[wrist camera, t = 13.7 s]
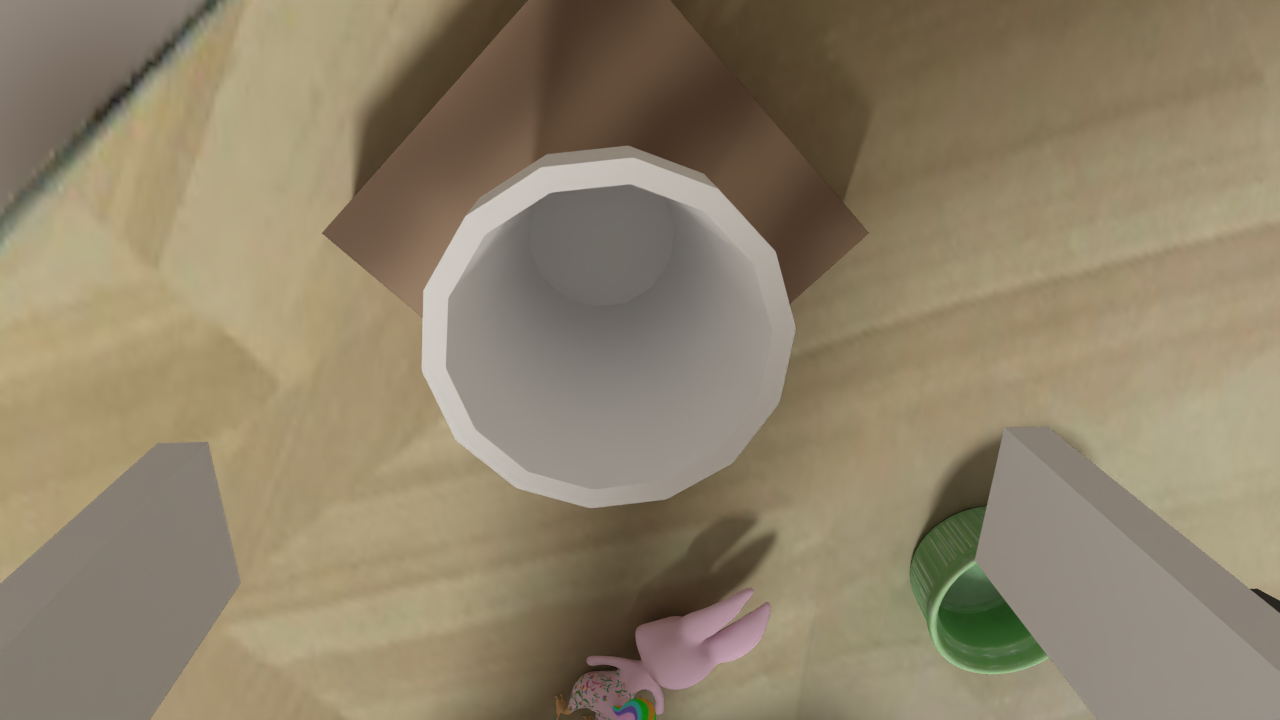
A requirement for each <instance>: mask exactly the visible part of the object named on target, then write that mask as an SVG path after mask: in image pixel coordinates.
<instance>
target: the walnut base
mask: <svg viewBox="0 0 1280 720" xmlns="http://www.w3.org/2000/svg"><path fill="white" fill-rule="evenodd" d="M620 146H631V147H634V148H636V149H639V150H642V151H644V152H647V153H650V154H652V155H655V156H658V157H660V158H663V159H666V160H668V161H671V162H674V163H676V164H679V165H682V166H684V167H687V168H690V169H692V170H695V171H698V172H700V173H703V174H705V175H706V176H707V178H708V179H709V180H710V181H711V182H712V183H713V184H714V185H715V186H716V187H717V188H718V189H719V190H720V191H721V192H722V193H723V195H724V196H725V197H726V198H727V199H728V200H729V201H730V202H731V203H732V204H733V205H734V207H735V208H736V209H737V210H738V211H739V212H740V213H741V214H742V215H743V216H744V217H745V219H746V220H747V221H748V222H749V223H750V224H751V225H752V226H753V227H754V228H755V229H756V231H757V232H758V233H759V234H760V235H761V236H762V237H763V238H764V239H765V240H766V242H767V243H768V244H769V245H770V246H771V247H772V248H773V249H774V250H775V251H776V254H777V258H778V262H779V266H780V270H781V273H782V277H783V281H784V285H785V289H786V292H787V296H788V300H789V304H790V303H791V302H792V301H793V300H794V299H796V298H797V297H798V296H799V295H800V294H801V293H802V292H803V291H804V290H806V289H807V288H808V287H809V286H810V285H811V284H812V283H813V282H815V281H816V280H817V279H818V278H819V277H820V276H821V275H822V274H824V273H825V272H826V271H827V270H828V269H829V268H830V267H831V266H833V265H834V264H835V263H836V262H837V261H838V260H839V259H840V258H842V257H843V256H844V255H845V254H846V253H847V252H848V251H849V250H851V249H852V248H853V247H854V246H855V245H856V244H857V243H858V242H859V241H861V240H862V239H863V238H864V237H865V236H866V235H867V234H868V233H869V232H868V231H867V230H866V229H865V228H864V227H863V225H862V224H861V223H860V222H859V221H858V220H857V218H856V217H855V216H854V215H853V214H852V213H851V211H850V210H849V209H848V208H847V207H846V205H845V204H844V203H843V202H842V201H841V200H840V198H839V197H838V196H837V195H836V194H835V193H834V191H833V190H832V189H831V188H830V187H829V186H828V184H827V183H826V182H825V181H824V180H823V179H822V177H821V176H820V175H819V174H818V173H817V172H816V170H815V169H814V168H813V167H812V166H811V165H810V163H809V162H808V161H807V160H806V159H805V157H804V156H803V155H802V154H801V153H800V152H799V150H798V149H797V148H796V147H795V146H794V145H793V143H792V142H791V141H790V140H789V139H788V138H787V136H786V135H785V134H784V133H783V132H782V131H781V129H780V128H779V127H778V126H777V125H776V124H775V122H774V121H773V120H772V119H771V118H770V117H769V115H768V114H767V113H766V112H765V111H764V109H763V108H762V107H761V106H760V105H759V104H758V102H757V101H756V100H755V99H754V98H753V97H752V95H751V94H750V93H749V92H748V91H747V90H746V88H745V87H744V86H743V85H742V84H741V83H740V81H739V80H738V79H737V78H736V77H735V76H734V74H733V73H732V72H731V71H730V70H729V69H728V67H727V66H726V65H725V64H724V63H723V62H722V60H721V59H720V58H719V57H718V56H717V54H716V53H715V52H714V51H713V50H712V49H711V47H710V46H709V45H708V44H707V43H706V42H705V40H704V39H703V38H702V37H701V36H700V35H699V33H698V32H697V31H696V30H695V29H694V28H693V26H692V25H691V24H690V23H689V22H688V21H687V19H686V18H685V17H684V16H683V15H682V14H681V12H680V11H679V10H678V9H677V8H676V6H675V5H674V4H673V3H672V2H671V1H670V0H528V1H527V2H526V3H525V4H524V5H523V6H522V7H521V9H520V10H519V11H518V12H517V13H516V14H515V15H514V16H513V18H512V19H511V20H510V21H509V22H508V23H507V24H506V26H505V27H504V28H503V29H502V30H501V31H500V32H499V33H498V35H497V36H496V37H495V38H494V39H493V40H492V41H491V42H490V44H489V45H488V46H487V47H486V48H485V49H484V50H483V52H482V53H481V54H480V55H479V56H478V57H477V58H476V59H475V61H474V62H473V63H472V64H471V65H470V66H469V67H468V69H467V70H466V71H465V72H464V73H463V74H462V75H461V76H460V78H459V79H458V80H457V81H456V82H455V83H454V84H453V85H452V87H451V88H450V89H449V90H448V91H447V92H446V93H445V95H444V96H443V97H442V98H441V99H440V100H439V101H438V102H437V104H436V105H435V106H434V107H433V108H432V109H431V110H430V112H429V113H428V114H427V115H426V116H425V117H424V118H423V119H422V121H421V122H420V123H419V124H418V125H417V126H416V127H415V128H414V130H413V131H412V132H411V133H410V134H409V135H408V136H407V138H406V139H405V140H404V141H403V142H402V143H401V144H400V145H399V147H398V148H397V149H396V150H395V151H394V152H393V153H392V155H391V156H390V157H389V158H388V159H387V160H386V161H385V162H384V164H383V165H382V166H381V167H380V168H379V169H378V170H377V171H376V173H375V174H374V175H373V176H372V177H371V178H370V179H369V181H368V182H367V183H366V184H365V185H364V186H363V187H362V188H361V190H360V191H359V192H358V193H357V194H356V195H355V196H354V197H353V199H352V200H351V201H350V202H349V203H348V204H347V205H346V207H345V208H344V209H343V210H342V211H341V212H340V213H339V214H338V216H337V217H336V218H335V219H334V220H333V221H332V222H331V224H330V225H329V226H328V227H327V228H326V229H325V230H324V231H323V233H322V234H324V235H325V236H326V237H327V238H328V239H330V240H331V241H332V242H333V243H334V244H335V245H337V246H338V247H339V248H340V249H341V250H343V251H344V252H345V253H346V254H347V255H349V256H350V257H351V258H352V259H353V260H354V261H356V262H357V263H358V264H359V265H360V266H362V267H363V268H364V269H365V270H366V271H368V272H369V273H370V274H371V275H372V276H374V277H375V278H376V279H377V280H378V281H379V282H381V283H382V284H383V285H384V286H385V287H387V288H388V289H389V290H390V291H391V292H393V293H394V294H395V295H396V296H397V297H398V298H400V299H401V300H402V301H403V302H404V303H406V304H407V305H408V306H409V307H410V308H412V309H413V310H414V311H415V312H416V313H418V314H419V315H420V316H421V317H422V318H423V290H424V288H425V287H426V285H427V283H428V281H429V279H430V278H431V276H432V274H433V272H434V271H435V269H436V267H437V265H438V264H439V262H440V260H441V258H442V257H443V255H444V253H445V251H446V249H447V248H448V246H449V244H450V242H451V241H452V239H453V237H454V235H455V234H456V232H457V230H458V228H459V226H460V225H461V223H462V221H463V219H464V218H465V216H466V215H467V213H468V212H469V211H470V209H471V208H472V207H473V205H474V204H475V203H476V201H477V200H478V199H479V198H480V197H481V196H483V195H484V194H486V193H488V192H489V191H491V190H492V189H494V188H495V187H497V186H498V185H500V184H501V183H503V182H505V181H506V180H508V179H509V178H511V177H512V176H514V175H515V174H517V173H519V172H520V171H522V170H523V169H525V168H526V167H528V166H529V165H531V164H532V163H534V162H536V161H537V160H539V159H540V158H542V157H543V156H545V155H546V154H554V153H563V152H573V151H582V150H591V149H601V148H610V147H620Z"/></svg>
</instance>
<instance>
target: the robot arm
mask: <svg viewBox="0 0 1280 720" xmlns="http://www.w3.org/2000/svg"><path fill="white" fill-rule="evenodd" d="M975 562H976V563H977V564H978V566H979V567H980V568H981V570H982V571H983V572H984V574H985V575H986V576H987V577H988V579H989V580H990V581H991V583H992V584H993V585H994V587H995V588H996V589H997V590H998V592H999V593H1000V594H1001V596H1002V597H1003V598H1004V600H1005V601H1006V602H1007V603H1008V605H1009V606H1010V607H1011V609H1012V610H1013V611H1014V613H1015V614H1016V615H1017V616H1018V618H1019V619H1020V620H1021V622H1022V623H1023V624H1024V626H1025V627H1026V628H1027V629H1028V631H1029V632H1030V633H1031V635H1032V636H1033V637H1034V639H1035V640H1036V641H1037V642H1038V644H1039V645H1040V646H1041V648H1042V649H1043V650H1044V652H1045V653H1046V654H1047V655H1048V657H1049V658H1050V659H1051V661H1052V662H1053V663H1054V665H1055V666H1056V667H1057V668H1058V670H1059V671H1060V672H1061V674H1062V675H1063V676H1064V678H1065V679H1066V680H1067V681H1068V683H1069V684H1070V685H1071V687H1072V688H1073V689H1074V691H1075V692H1076V693H1077V694H1078V696H1079V697H1080V698H1081V700H1082V701H1083V702H1084V704H1085V705H1086V706H1087V707H1088V709H1089V710H1090V711H1091V713H1092V714H1093V715H1094V717H1095V718H1096V719H1097V720H1280V601H1279V600H1277V599H1275V598H1273V597H1272V596H1270V595H1268V594H1266V593H1264V592H1262V591H1260V590H1259V589H1249V588H1248V587H1247V586H1245V585H1244V584H1243V583H1242V582H1240V581H1239V580H1238V579H1237V578H1235V577H1234V576H1233V575H1232V574H1230V573H1229V572H1228V571H1227V570H1225V569H1224V568H1223V567H1222V566H1220V565H1219V564H1218V563H1217V562H1215V561H1214V560H1213V559H1212V558H1210V557H1209V556H1208V555H1207V554H1205V553H1204V552H1203V551H1202V550H1200V549H1199V548H1198V547H1197V546H1195V545H1194V544H1193V543H1192V542H1190V541H1189V540H1188V539H1187V538H1186V537H1184V536H1183V535H1182V534H1181V533H1179V532H1178V531H1177V530H1176V529H1174V528H1173V527H1172V526H1171V525H1169V524H1168V523H1167V522H1166V521H1164V520H1163V519H1162V518H1161V517H1159V516H1158V515H1157V514H1156V513H1154V512H1153V511H1152V510H1151V509H1149V508H1148V507H1147V506H1146V505H1144V504H1143V503H1142V502H1141V501H1139V500H1138V499H1137V498H1136V497H1134V496H1133V495H1132V494H1131V493H1129V492H1128V491H1127V490H1126V489H1124V488H1123V487H1122V486H1121V485H1119V484H1118V483H1117V482H1116V481H1114V480H1113V479H1112V478H1111V477H1109V476H1108V475H1107V474H1106V473H1104V472H1103V471H1102V470H1101V469H1100V468H1098V467H1097V466H1096V465H1095V464H1093V463H1092V462H1091V461H1090V460H1088V459H1087V458H1086V457H1085V456H1083V455H1082V454H1081V453H1080V452H1078V451H1077V450H1076V449H1075V448H1073V447H1072V446H1071V445H1070V444H1068V443H1067V442H1066V441H1065V440H1063V439H1062V438H1061V437H1060V436H1058V435H1057V434H1056V433H1055V432H1053V431H1052V430H1051V429H1050V428H1048V427H1010V428H1004V432H1003V436H1002V441H1001V445H1000V450H999V454H998V458H997V463H996V467H995V472H994V476H993V481H992V485H991V490H990V494H989V499H988V503H987V508H986V512H985V516H984V521H983V525H982V530H981V534H980V539H979V543H978V548H977V552H976V557H975ZM240 583H241V581H240V577H239V573H238V568H237V564H236V560H235V556H234V551H233V547H232V543H231V539H230V534H229V530H228V526H227V521H226V517H225V513H224V509H223V504H222V500H221V496H220V492H219V487H218V483H217V479H216V475H215V470H214V466H213V462H212V457H211V453H210V449H209V445H208V442H187V443H157V444H156V445H155V446H154V447H153V448H152V449H151V450H150V451H148V452H147V453H146V454H145V455H144V456H143V457H142V458H141V459H139V460H138V461H137V462H136V463H135V464H134V465H133V466H132V467H130V468H129V469H128V470H127V471H126V472H125V473H124V474H123V475H122V476H120V477H119V478H118V479H117V480H116V481H115V482H114V483H113V484H111V485H110V486H109V487H108V488H107V489H106V490H105V491H104V492H102V493H101V494H100V495H99V496H98V497H97V498H96V499H95V500H94V501H92V502H91V503H90V504H89V505H88V506H87V507H86V508H85V509H83V510H82V511H81V512H80V513H79V514H78V515H77V516H76V517H75V518H73V519H72V520H71V521H70V522H69V523H68V524H67V525H66V526H64V527H63V528H62V529H61V530H60V531H59V532H58V533H57V534H55V535H54V536H53V537H52V538H51V539H50V540H49V541H48V542H47V543H45V544H44V545H43V546H42V547H41V548H40V549H39V550H38V551H36V552H35V553H34V554H33V555H32V556H31V557H30V558H29V559H28V560H26V561H25V562H24V563H23V564H22V565H21V566H20V567H19V568H17V569H16V570H15V571H14V572H13V573H12V574H11V575H10V576H8V577H7V578H6V579H5V580H4V581H3V582H2V583H1V584H0V720H150V719H151V718H152V716H153V715H154V713H155V712H156V710H157V709H158V707H159V706H160V704H161V703H162V701H163V700H164V698H165V697H166V695H167V694H168V692H169V691H170V689H171V687H172V686H173V684H174V683H175V681H176V680H177V678H178V677H179V675H180V674H181V672H182V671H183V669H184V668H185V666H186V665H187V663H188V662H189V660H190V659H191V657H192V656H193V654H194V653H195V651H196V650H197V648H198V647H199V645H200V644H201V642H202V641H203V639H204V638H205V636H206V635H207V633H208V632H209V630H210V629H211V627H212V626H213V624H214V623H215V621H216V620H217V618H218V617H219V615H220V614H221V612H222V611H223V609H224V608H225V606H226V604H227V603H228V601H229V600H230V598H231V597H232V595H233V594H234V592H235V591H236V589H237V588H238V586H239V585H240Z"/></svg>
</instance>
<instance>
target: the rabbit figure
mask: <svg viewBox="0 0 1280 720" xmlns="http://www.w3.org/2000/svg"><path fill="white" fill-rule="evenodd" d="M753 592H754V590H753V589H752V588H747V589H744V590H742V591H739V592H738V593H736V594H734V595H732V596H730V597H728V598H726V599H724V600H722V601H720V602H718V603H716V604H713V605H711V606H709V607H707V608H704V609H701V610H698V611H695V612H692V613H689V614H687V615H685V616H684V617H680V616H672V617H667V618H664V619H660V620H657V621H653V622H649V623H645V624H642V625H640V626H638V628H637V629H636V633H635V637H636V645H637V648H638V651H639V654H640V657H641V659H642V660H632V659H627V658H622V657H614V656H589V657H588V658H587V663H588V665H590V666H595V665H611V666H615V667H618V668H619V669H617V670H615V671H609V670H608V671H592V672H588V673H585V674H584V675H582V676H581V677H580V678H579V679H578V680H577V681H576V683H575V685H574V687H573V690H572V694H571V697H570V701H569V704H568V707H567V708H566V709H564V707H565V705H566V703H564V702H563V696H562V694H560V696H561V699H560V700H558V696H555V698H556V699H557V700H556V708H557V710H556V713H557V715H558V717H557V719H556V720H559V717H560V714H561V713H562V714H566V715H570V714H571V713H572V712H573V711H575V710H577V709H583V708H588V709H590V710H592V711H593V712H595V714H596V720H656V714H659V715H660V714H662V713H663V711H664V696H663V692H662V689H661V686H662V687H665V688H668V689H674V690H679V689H685V688H688V687H690V686H693V685H695V684H696V683H698V682H700V681H701V680H703V679H704V678H705V677H706V676H707V675H708V674H709V673H710V672H711V671H712V669H713V668H714V667H715V666H716V665H717V664H719V663H722V662H729V661H733V660H736V659H738V658H740V657H742V656H744V655H745V654H746V653H748V652H749V651H750V650H751V649H753V648H754V647H755V646H756V645H757V644H758V642H759V641H760V640H761V638H762V636H763V634H764V632H765V629H766V627H767V623H768V620H769V616H770V611H771V605H770V603H769V602H766V603H764V604H763V605H761V606H760V607H758V608H757V609H755V610H754V611H752V612H750V613H748V614H747V615H745V616H744V617H742V618H741V619H739V620H738V621H736V622H734V623H732V624H730V625H728V626H727V627H725V628H723V629H722V630H720V629H721V628H722V627H724V626H725V625H726V624H727V623H729V622H730V621H731V620H733V619H734V618H735V617H736V615H737V614H738V613H739V612H740V610H741V609H742V607H743V606H744V604H745V603H746V602H747V600H748V599H749V598H750V596H751V595H752V594H753ZM719 630H720V631H719ZM644 689H646V690H649V691H651V693H652V694H653V696H654V698H655V701H656V703H655V707H654V706H653V705H652V703H650V702H649V701H648V700H646V699H643V698H634V696H635V694H636V693H637V692H638V691H640V690H644ZM589 716H590V718H589V719H587V718H586V717H585V716H584V715H583V717H584V718H585V720H592V719H591V718H592V716H591V715H589Z"/></svg>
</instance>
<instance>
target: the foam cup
mask: <svg viewBox="0 0 1280 720" xmlns="http://www.w3.org/2000/svg"><path fill="white" fill-rule="evenodd" d="M795 331H796V327H795V323H794V319H793V315H792V311H791V308H790V304H789V300H788V296H787V292H786V289H785V285H784V281H783V277H782V273H781V270H780V266H779V262H778V258H777V254H776V251H775V250H774V249H773V248H772V247H771V246H770V245H769V244H768V243H767V242H766V240H765V239H764V238H763V237H762V236H761V235H760V234H759V233H758V232H757V231H756V229H755V228H754V227H753V226H752V225H751V224H750V223H749V222H748V221H747V220H746V219H745V217H744V216H743V215H742V214H741V213H740V212H739V211H738V210H737V209H736V208H735V207H734V205H733V204H732V203H731V202H730V201H729V200H728V199H727V198H726V197H725V196H724V195H723V193H722V192H721V191H720V190H719V189H718V188H717V187H716V186H715V185H714V184H713V183H712V182H711V181H710V180H709V179H708V178H707V176H706V175H705V174H703V173H700V172H698V171H695V170H692V169H690V168H687V167H684V166H682V165H679V164H676V163H674V162H671V161H668V160H666V159H663V158H660V157H658V156H655V155H652V154H650V153H647V152H644V151H642V150H639V149H636V148H634V147H631V146H620V147H610V148H601V149H591V150H582V151H573V152H563V153H554V154H546V155H545V156H543V157H542V158H540V159H539V160H537V161H536V162H534V163H532V164H531V165H529V166H528V167H526V168H525V169H523V170H522V171H520V172H519V173H517V174H515V175H514V176H512V177H511V178H509V179H508V180H506V181H505V182H503V183H501V184H500V185H498V186H497V187H495V188H494V189H492V190H491V191H489V192H488V193H486V194H484V195H483V196H481V197H480V198H479V199H478V200H477V201H476V203H475V204H474V205H473V207H472V208H471V209H470V211H469V212H468V213H467V215H466V216H465V218H464V219H463V221H462V223H461V225H460V226H459V228H458V230H457V232H456V234H455V235H454V237H453V239H452V241H451V242H450V244H449V246H448V248H447V249H446V251H445V253H444V255H443V257H442V258H441V260H440V262H439V264H438V265H437V267H436V269H435V271H434V272H433V274H432V276H431V278H430V279H429V281H428V283H427V285H426V287H425V288H424V290H423V332H422V372H423V374H424V376H425V378H426V380H427V382H428V385H429V387H430V389H431V391H432V393H433V395H434V397H435V399H436V401H437V403H438V405H439V407H440V409H441V411H442V413H443V415H444V417H445V419H446V421H447V423H448V425H449V427H450V429H451V431H452V433H453V435H454V437H455V439H456V441H457V442H459V443H460V444H461V445H463V446H464V447H465V448H466V449H468V450H469V451H470V452H471V453H473V454H474V455H475V456H476V457H478V458H479V459H480V460H481V461H483V462H484V463H485V464H486V465H488V466H489V467H490V468H491V469H493V470H494V471H495V472H497V473H498V474H499V475H500V476H502V477H503V478H504V479H505V480H507V481H508V482H509V483H510V484H512V485H513V486H514V487H515V488H517V489H521V490H525V491H528V492H532V493H536V494H539V495H543V496H547V497H550V498H554V499H558V500H561V501H565V502H569V503H572V504H576V505H580V506H583V507H587V508H599V507H607V506H616V505H624V504H633V503H641V502H650V501H658V500H666V499H668V498H670V497H672V496H674V495H676V494H677V493H679V492H681V491H683V490H685V489H687V488H688V487H690V486H692V485H694V484H696V483H698V482H699V481H701V480H703V479H705V478H707V477H708V476H710V475H712V474H714V473H716V472H718V471H719V470H721V469H723V468H725V467H727V466H729V465H730V464H732V463H733V462H734V461H735V460H736V459H737V457H738V456H739V455H740V453H741V452H742V451H743V450H744V448H745V447H746V446H747V444H748V443H749V442H750V441H751V439H752V438H753V437H754V435H755V434H756V433H757V432H758V430H759V429H760V428H761V426H762V425H763V424H764V423H765V421H766V420H767V419H768V417H769V416H770V415H771V414H772V412H773V411H774V410H775V409H776V407H777V406H778V405H779V403H780V399H781V394H782V390H783V385H784V381H785V376H786V372H787V367H788V363H789V358H790V354H791V349H792V345H793V340H794V336H795Z"/></svg>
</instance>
